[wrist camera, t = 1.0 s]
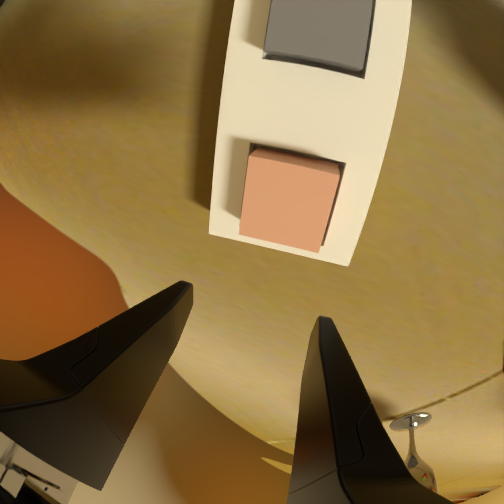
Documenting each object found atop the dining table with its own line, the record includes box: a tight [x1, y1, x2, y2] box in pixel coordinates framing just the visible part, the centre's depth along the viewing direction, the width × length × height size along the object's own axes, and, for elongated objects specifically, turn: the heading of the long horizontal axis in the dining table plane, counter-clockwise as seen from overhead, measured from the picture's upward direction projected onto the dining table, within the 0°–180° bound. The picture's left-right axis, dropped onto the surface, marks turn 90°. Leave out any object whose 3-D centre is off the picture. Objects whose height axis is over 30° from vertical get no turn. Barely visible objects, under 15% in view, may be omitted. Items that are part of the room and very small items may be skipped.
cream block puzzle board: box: [209, 0, 412, 266], centre depth 13 cm, size 10×30×3 cm, turn 172°
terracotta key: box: [239, 147, 340, 253], centre depth 17 cm, size 5×5×2 cm
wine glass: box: [390, 413, 439, 494], centre depth 28 cm, size 8×8×15 cm
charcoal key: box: [264, 0, 373, 72], centre depth 11 cm, size 5×5×2 cm
